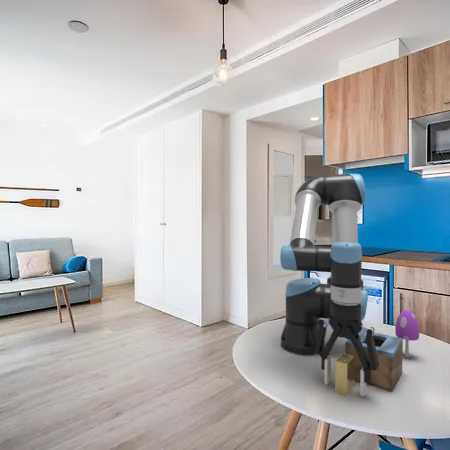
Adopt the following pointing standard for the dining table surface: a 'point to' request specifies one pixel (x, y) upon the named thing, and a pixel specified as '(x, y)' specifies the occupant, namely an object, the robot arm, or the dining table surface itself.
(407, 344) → the toy
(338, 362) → the tan rectangular box
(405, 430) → the dining table surface
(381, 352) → the coin box
